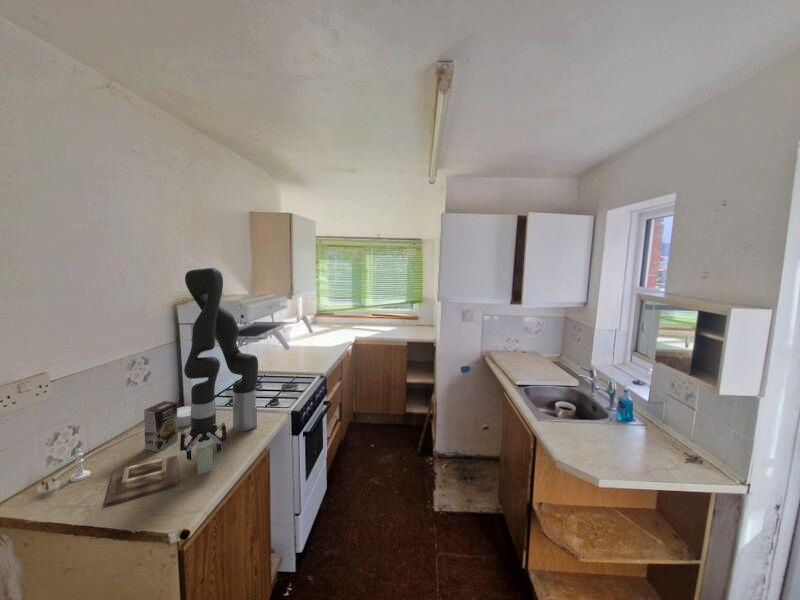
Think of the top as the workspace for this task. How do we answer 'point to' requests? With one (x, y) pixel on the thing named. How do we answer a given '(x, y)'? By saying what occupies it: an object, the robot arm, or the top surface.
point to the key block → (204, 456)
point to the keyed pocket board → (143, 479)
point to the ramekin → (184, 416)
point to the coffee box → (160, 426)
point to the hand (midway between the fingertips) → (204, 456)
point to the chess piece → (79, 468)
